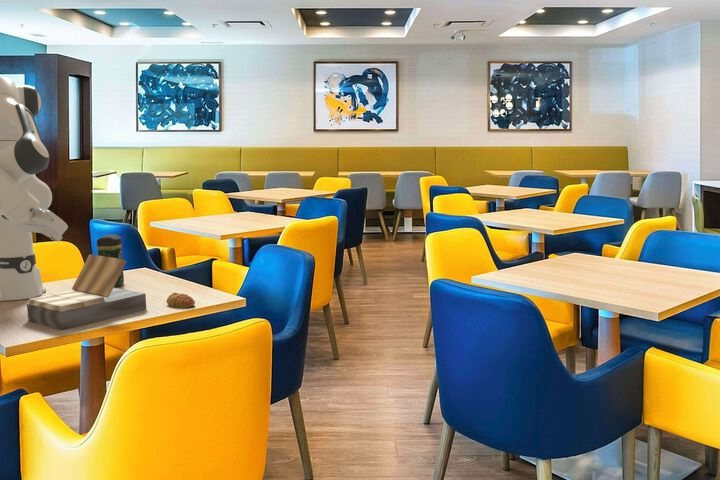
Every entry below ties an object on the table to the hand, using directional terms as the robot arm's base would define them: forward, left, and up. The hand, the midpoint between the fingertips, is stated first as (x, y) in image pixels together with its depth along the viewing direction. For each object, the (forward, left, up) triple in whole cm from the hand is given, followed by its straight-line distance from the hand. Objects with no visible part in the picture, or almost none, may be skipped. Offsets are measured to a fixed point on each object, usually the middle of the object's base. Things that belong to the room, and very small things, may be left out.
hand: (58, 239), depth 199 cm
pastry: (+14, +31, -25) cm, 42 cm away
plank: (0, +13, -13) cm, 18 cm away
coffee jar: (-32, +38, -24) cm, 55 cm away
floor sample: (0, +8, -24) cm, 25 cm away
